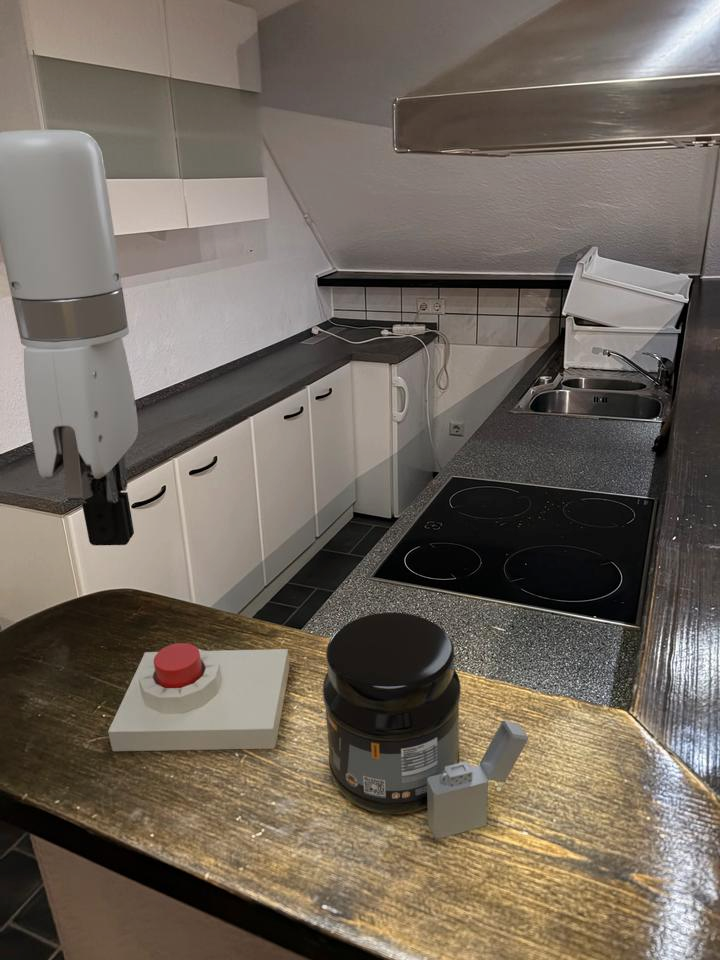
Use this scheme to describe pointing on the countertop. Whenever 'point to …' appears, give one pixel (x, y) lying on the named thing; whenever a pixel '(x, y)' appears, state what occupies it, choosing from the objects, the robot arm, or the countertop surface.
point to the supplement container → (390, 710)
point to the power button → (178, 665)
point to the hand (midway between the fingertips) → (112, 540)
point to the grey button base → (205, 705)
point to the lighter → (472, 784)
